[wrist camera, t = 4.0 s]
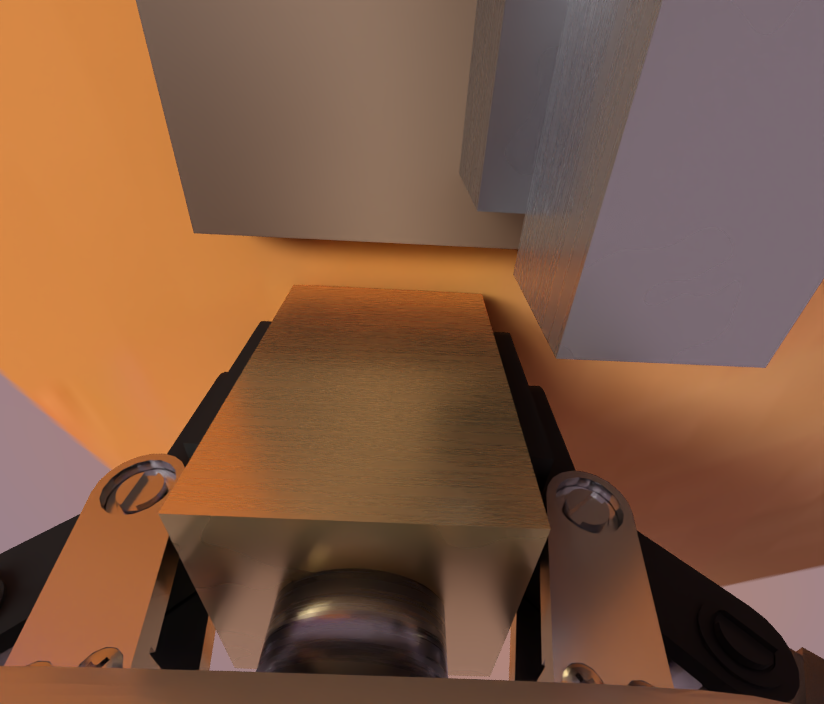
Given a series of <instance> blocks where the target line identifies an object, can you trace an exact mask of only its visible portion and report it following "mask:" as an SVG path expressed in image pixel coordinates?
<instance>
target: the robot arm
mask: <svg viewBox="0 0 824 704" xmlns="http://www.w3.org/2000/svg"><path fill="white" fill-rule="evenodd" d="M270 324H271V322H270V321H261V322H260V323H259V325H258V326H257V328H256V329H255V331H254V333H253V334H252V336H251V337H250V339H249V340H248V342H247V344H246V345H245V347H244V348H243V350H242V351H241V353H240V355H239V356H238V358H237V359H236V361H235V362H234V364H233V365H232V367H231V369H230V370H229V372H224V373H221V374H220V376H219V377H218V378H217V379H216V381H215V382H214V384H213V385H212V387H211V388H210V390H209V391H208V393H207V394H206V396H205V397H204V399H203V400H202V402H201V403H200V405H199V406H198V408H197V410H196V411H195V413H194V414H193V416H192V417H191V419H190V420H189V422H188V423H187V425H186V426H185V428H184V429H183V431H182V432H181V434H180V435H179V437H178V438H177V440H176V441H175V443H174V444H173V446H172V447H171V449H170V450H169V452H168V453H167V454H149V455H144V456H140V457H136V458H134V459H131V460H129V461H127V462H124V463H122V464H121V465H119V466H117V467H116V468H114V469H113V470H111V471H110V472H109V473H107V474H106V475H105V476H104V477H103V478H102V479H101V480H100V481H99V482H98V483H97V485H96V486H95V488H94V489H93V491H92V492H91V494H90V496H89V498H88V500H87V502H86V504H85V506H84V508H83V510H82V512H81V514H79V515H77V516H75V517H73V518H71V519H69V520H67V521H65V522H63V523H61V524H59V525H57V526H55V527H53V528H51V529H49V530H47V531H45V532H43V533H41V534H39V535H37V536H35V537H33V538H31V539H29V540H27V541H25V542H23V543H21V544H19V545H17V546H15V547H13V548H11V549H9V550H7V551H5V552H3V553H1V554H0V704H824V659H822V658H821V657H819V656H817V655H815V654H814V653H812V652H810V651H808V650H806V649H804V648H803V647H802V648H801V649H799V650H798V651H796V652H795V651H794V650H792V649H790V648H789V647H788V646H787V644H786V643H785V641H784V640H783V638H782V636H781V635H780V634H779V633H778V632H777V631H776V630H775V629H774V627H773V626H772V625H771V624H770V623H769V622H768V621H767V620H766V619H765V618H763V617H762V616H761V615H760V614H759V613H757V612H756V611H755V610H754V609H752V608H751V607H750V606H748V605H747V604H745V603H744V602H742V601H741V600H739V599H738V598H736V597H735V596H733V595H732V594H731V593H729V592H728V591H726V590H725V589H723V588H722V587H720V586H719V585H717V584H716V583H714V582H713V581H711V580H710V579H708V578H707V577H705V576H704V575H702V574H701V573H699V572H698V571H696V570H695V569H693V568H692V567H690V566H689V565H687V564H686V563H684V562H683V561H681V560H680V559H678V558H677V557H675V556H674V555H673V554H671V553H670V552H668V551H667V550H665V549H664V548H662V547H661V546H659V545H658V544H656V543H655V542H653V541H652V540H650V539H649V538H647V537H646V536H644V535H643V534H641V533H640V532H638V531H637V530H636V526H635V522H634V517H633V513H632V511H631V509H630V506H629V504H628V502H627V501H626V499H625V498H624V497H623V495H622V494H621V493H620V492H619V491H618V490H617V489H616V488H615V487H614V486H612V485H611V484H610V483H609V482H607V481H605V480H603V479H602V478H600V477H598V476H596V475H592V474H589V473H586V472H581V471H576V470H575V468H574V465H573V463H572V460H571V458H570V455H569V453H568V450H567V448H566V445H565V443H564V440H563V438H562V435H561V433H560V430H559V428H558V425H557V423H556V420H555V418H554V415H553V413H552V410H551V408H550V405H549V403H548V400H547V398H546V395H545V393H544V391H543V389H542V388H541V387H540V386H528V383H527V380H526V377H525V375H524V372H523V369H522V366H521V363H520V361H519V358H518V355H517V352H516V349H515V347H514V344H513V341H512V338H511V335H510V334H509V333H501V332H493V334H494V337H495V341H496V344H497V348H498V351H499V354H500V358H501V361H502V365H503V368H504V371H505V375H506V378H507V382H508V385H509V388H510V392H511V395H512V399H513V402H514V405H515V409H516V412H517V416H518V419H519V423H520V426H521V429H522V433H523V436H524V440H525V443H526V446H527V450H528V453H529V457H530V460H531V463H532V467H533V470H534V474H535V477H536V480H537V484H538V487H539V491H540V494H541V497H542V501H543V504H544V508H545V511H546V514H547V518H548V521H549V525H550V528H551V530H550V532H549V535H548V537H547V540H546V542H545V544H544V547H543V549H542V552H541V554H540V557H539V559H538V561H537V564H536V566H535V569H534V571H533V573H532V576H531V578H530V581H529V583H528V586H527V588H526V590H525V593H524V595H523V598H522V600H521V602H520V605H519V607H518V610H517V612H516V615H515V617H514V619H513V622H512V624H511V637H510V638H511V639H510V666H509V681H505V680H478V679H451V678H425V677H395V676H364V675H334V674H303V673H271V672H239V671H209V668H210V662H211V655H212V649H213V643H214V636H215V630H216V629H215V627H214V625H213V623H212V621H211V619H210V617H209V615H208V613H207V611H206V609H205V607H204V605H203V603H202V601H201V599H200V597H199V595H198V593H197V591H196V589H195V587H194V585H193V583H192V581H191V579H190V577H189V575H188V573H187V571H186V569H185V567H184V565H183V563H182V561H181V559H180V557H179V555H178V552H177V550H176V548H175V546H174V544H173V542H172V540H171V538H170V536H169V534H168V532H167V530H166V528H165V526H164V524H163V522H162V520H161V518H160V516H159V514H158V513H159V511H160V509H161V508H162V506H163V504H164V503H165V501H166V499H167V498H168V496H169V494H170V493H171V491H172V489H173V488H174V486H175V484H176V482H177V481H178V479H179V477H180V476H181V474H182V472H183V471H184V469H185V467H186V466H187V464H188V462H189V461H190V459H191V457H192V456H193V454H194V452H195V450H196V449H197V447H198V445H199V444H200V442H201V440H202V439H203V437H204V435H205V434H206V432H207V430H208V429H209V427H210V425H211V424H212V422H213V420H214V418H215V417H216V415H217V413H218V412H219V410H220V408H221V407H222V405H223V403H224V402H225V400H226V398H227V397H228V395H229V393H230V392H231V390H232V388H233V386H234V385H235V383H236V381H237V380H238V378H239V376H240V375H241V373H242V371H243V370H244V368H245V366H246V365H247V363H248V361H249V360H250V358H251V356H252V354H253V353H254V351H255V349H256V348H257V346H258V344H259V343H260V341H261V339H262V338H263V336H264V334H265V333H266V331H267V329H268V328H269V326H270Z"/></svg>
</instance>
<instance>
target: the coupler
mask: <svg viewBox="0 0 824 704" xmlns="http://www.w3.org/2000/svg"><path fill="white" fill-rule="evenodd" d="M158 514H159V516H160V518H161V520H162V522H163V524H164V526H165V528H166V530H167V532H168V534H169V536H170V538H171V540H172V542H173V544H174V546H175V548H176V550H177V552H178V555H179V557H180V559H181V561H182V563H183V565H184V567H185V569H186V571H187V573H188V575H189V577H190V579H191V581H192V583H193V585H194V587H195V589H196V591H197V593H198V595H199V597H200V599H201V601H202V603H203V605H204V607H205V609H206V611H207V613H208V615H209V617H210V619H211V621H212V623H213V625H214V627H215V629H216V630H217V633H218V635H219V637H220V639H221V641H222V642H223V645H224V647H225V649H226V651H227V653H228V655H229V657H230V659H231V661H232V663H233V665H234V667H235V668H248V669H249V668H250V669H257V670H256V672H271V673H303V674H334V675H364V676H395V677H425V678H448V675H459V676H490V675H491V673H492V670H493V668H494V665H495V663H496V660H497V658H498V655H499V653H500V651H501V648H502V646H503V644H504V641H505V639H506V636H507V634H508V631H509V629H510V627H511V624H512V622H513V619H514V617H515V615H516V612H517V610H518V607H519V605H520V602H521V600H522V598H523V595H524V593H525V590H526V588H527V586H528V583H529V581H530V578H531V576H532V573H533V571H534V569H535V566H536V564H537V561H538V559H539V557H540V554H541V552H542V549H543V547H544V544H545V542H546V540H547V537H548V535H549V532H550V530H551V528H550V525H549V521H548V518H547V514H546V511H545V508H544V504H543V501H542V497H541V494H540V491H539V487H538V484H537V480H536V477H535V474H534V470H533V467H532V463H531V460H530V457H529V453H528V450H527V446H526V443H525V440H524V436H523V433H522V429H521V426H520V423H519V419H518V416H517V412H516V409H515V405H514V402H513V399H512V395H511V392H510V388H509V385H508V382H507V378H506V375H505V371H504V368H503V365H502V361H501V358H500V354H499V351H498V348H497V344H496V341H495V337H494V334H493V331H492V327H491V324H490V320H489V317H488V314H487V310H486V307H485V303H484V300H483V297H482V294H470V293H450V292H430V291H410V290H391V289H371V288H351V287H331V286H311V285H293V287H292V289H291V290H290V292H289V294H288V296H287V297H286V299H285V301H284V302H283V304H282V306H281V307H280V309H279V311H278V312H277V314H276V316H275V317H274V319H273V321H272V322H271V324H270V326H269V328H268V329H267V331H266V333H265V334H264V336H263V338H262V339H261V341H260V343H259V344H258V346H257V348H256V349H255V351H254V353H253V354H252V356H251V358H250V360H249V361H248V363H247V365H246V366H245V368H244V370H243V371H242V373H241V375H240V376H239V378H238V380H237V381H236V383H235V385H234V386H233V388H232V390H231V392H230V393H229V395H228V397H227V398H226V400H225V402H224V403H223V405H222V407H221V408H220V410H219V412H218V413H217V415H216V417H215V418H214V420H213V422H212V424H211V425H210V427H209V429H208V430H207V432H206V434H205V435H204V437H203V439H202V440H201V442H200V444H199V445H198V447H197V449H196V450H195V452H194V454H193V456H192V457H191V459H190V461H189V462H188V464H187V466H186V467H185V469H184V471H183V472H182V474H181V476H180V477H179V479H178V481H177V482H176V484H175V486H174V488H173V489H172V491H171V493H170V494H169V496H168V498H167V499H166V501H165V503H164V504H163V506H162V508H161V509H160V511H159V513H158Z"/></svg>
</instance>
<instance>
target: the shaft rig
mask: <svg viewBox="0 0 824 704" xmlns="http://www.w3.org/2000/svg"><path fill="white" fill-rule="evenodd" d="M459 174H460V176H461V179H462V181H463V183H464V185H465V187H466V189H467V191H468V193H469V195H470V197H471V199H472V202H473V204H474V206H475V208H476V210H477V211H482V212H501V213H520V214H525V218H524V223H523V228H522V233H521V238H520V243H519V248H518V254H517V259H516V264H515V269H514V274H513V275H514V277H515V279H516V280H517V282H518V284H519V286H520V288H521V290H522V292H523V294H524V296H525V298H526V300H527V302H528V304H529V306H530V308H531V310H532V312H533V314H534V316H535V318H536V320H537V322H538V324H539V326H540V328H541V330H542V331H543V333H544V335H545V337H546V339H547V341H548V343H549V345H550V347H551V349H552V351H553V353H554V355H555V357H556V359H578V360H601V361H624V362H647V363H669V364H692V365H715V366H738V367H760V368H766V366H767V365H768V363H769V361H770V360H771V358H772V357H773V355H774V354H775V352H776V351H777V349H778V348H779V346H780V345H781V343H782V342H783V340H784V339H785V337H786V335H787V334H788V332H789V331H790V329H791V328H792V326H793V325H794V323H795V322H796V320H797V319H798V317H799V316H800V314H801V312H802V311H803V309H804V308H805V306H806V305H807V303H808V302H809V300H810V299H811V297H812V296H813V294H814V293H815V291H816V289H817V288H818V286H819V285H820V283H821V282H822V280H823V279H824V0H477V6H476V15H475V25H474V34H473V44H472V54H471V63H470V73H469V82H468V92H467V101H466V111H465V120H464V130H463V140H462V149H461V159H460V168H459Z"/></svg>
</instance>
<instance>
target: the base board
mask: <svg viewBox="0 0 824 704" xmlns="http://www.w3.org/2000/svg"><path fill="white" fill-rule="evenodd" d="M136 3H137V7H138V11H139V15H140V19H141V23H142V27H143V31H144V35H145V39H146V43H147V47H148V51H149V55H150V59H151V63H152V67H153V71H154V75H155V79H156V83H157V87H158V91H159V95H160V99H161V103H162V107H163V111H164V115H165V119H166V123H167V127H168V131H169V135H170V139H171V143H172V147H173V151H174V155H175V159H176V163H177V167H178V171H179V175H180V179H181V183H182V187H183V191H184V195H185V199H186V203H187V207H188V211H189V215H190V219H191V223H192V227H193V231H194V233H202V234H222V235H242V236H262V237H282V238H302V239H322V240H343V241H363V242H383V243H403V244H423V245H443V246H463V247H483V248H503V249H518V248H519V243H520V238H521V233H522V228H523V223H524V218H525V214H520V213H501V212H482V211H477V210H476V208H475V206H474V204H473V202H472V199H471V197H470V195H469V193H468V191H467V189H466V187H465V185H464V183H463V181H462V179H461V176H460V174H459V168H460V159H461V149H462V140H463V130H464V120H465V111H466V101H467V92H468V82H469V73H470V63H471V54H472V44H473V34H474V25H475V15H476V6H477V0H136Z"/></svg>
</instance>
